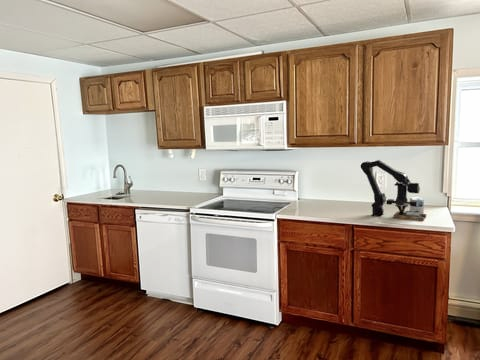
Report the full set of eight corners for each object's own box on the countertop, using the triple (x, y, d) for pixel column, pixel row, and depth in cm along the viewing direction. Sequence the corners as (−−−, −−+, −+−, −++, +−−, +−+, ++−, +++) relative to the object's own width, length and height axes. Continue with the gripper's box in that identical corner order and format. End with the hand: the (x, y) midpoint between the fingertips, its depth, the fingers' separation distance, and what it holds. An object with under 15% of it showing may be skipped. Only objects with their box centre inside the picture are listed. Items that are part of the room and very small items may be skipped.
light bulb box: (423, 215, 250) (424, 199, 249) (413, 215, 251) (413, 199, 250) (419, 211, 261) (419, 196, 259) (409, 211, 262) (409, 196, 260)
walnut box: (393, 219, 241) (393, 215, 241) (397, 215, 251) (397, 211, 251) (423, 222, 231) (423, 217, 231) (426, 218, 241) (426, 214, 240)
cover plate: (406, 218, 239) (406, 214, 238) (408, 215, 245) (408, 211, 245) (419, 219, 234) (419, 215, 234) (421, 217, 241) (421, 212, 240)
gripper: (384, 193, 240) (384, 216, 242) (415, 195, 230) (414, 219, 232) (388, 190, 249) (388, 212, 252) (418, 192, 239) (417, 215, 241)
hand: (401, 215), depth 244 cm, fingers closed
